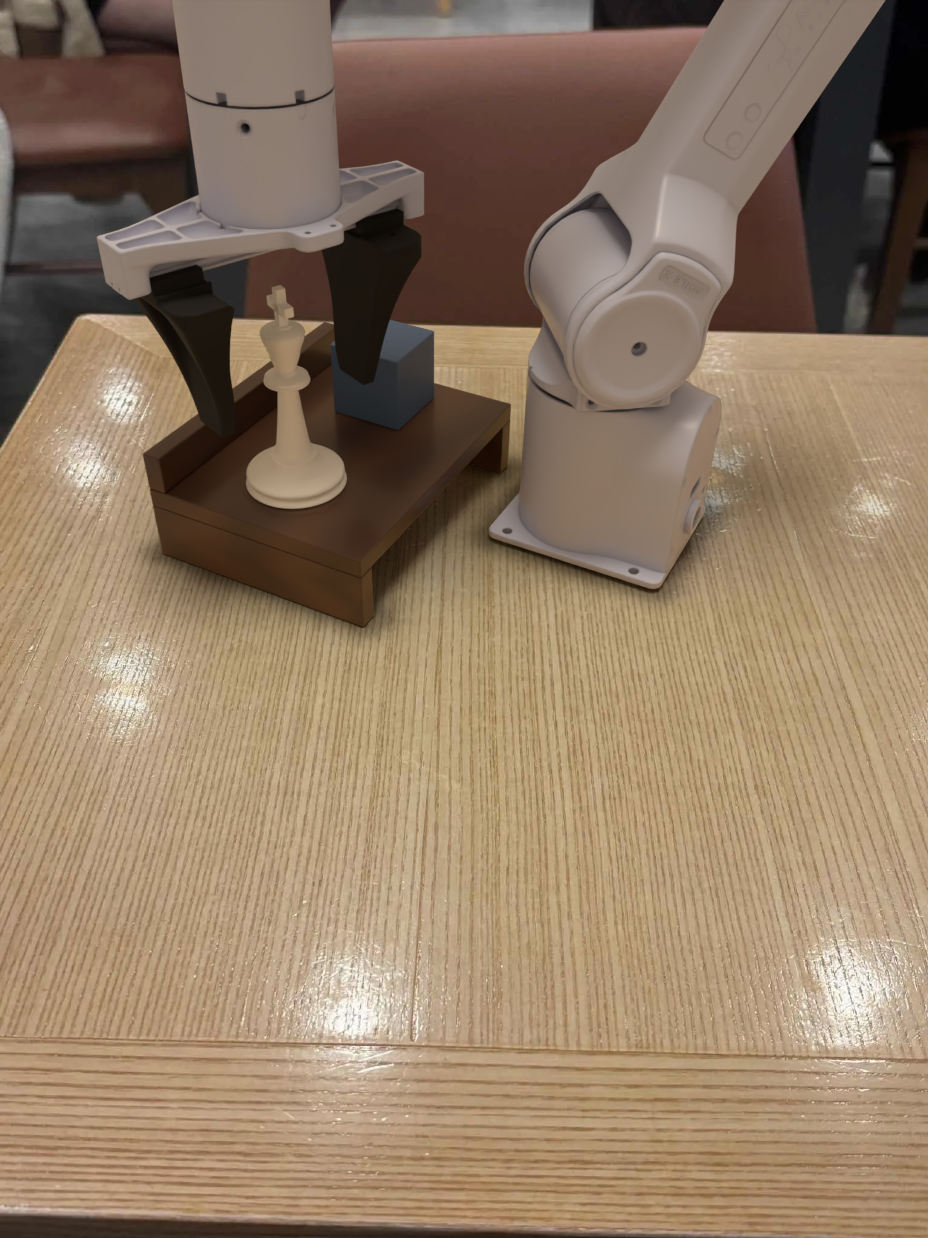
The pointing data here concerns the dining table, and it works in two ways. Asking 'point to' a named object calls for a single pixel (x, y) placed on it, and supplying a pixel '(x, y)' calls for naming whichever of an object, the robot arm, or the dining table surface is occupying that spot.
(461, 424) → the shelf
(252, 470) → the chess piece
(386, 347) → the blue box
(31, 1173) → the dining table surface
